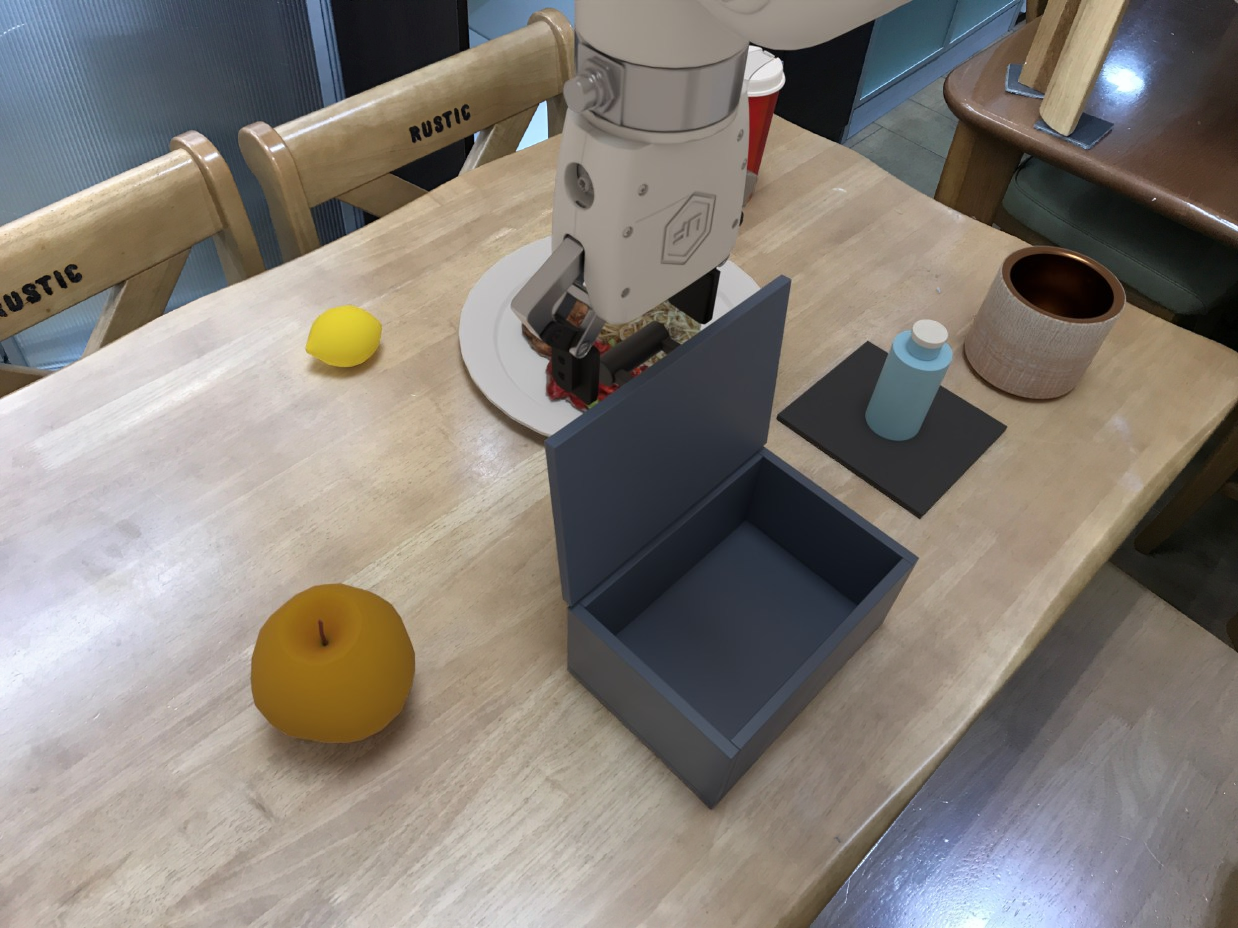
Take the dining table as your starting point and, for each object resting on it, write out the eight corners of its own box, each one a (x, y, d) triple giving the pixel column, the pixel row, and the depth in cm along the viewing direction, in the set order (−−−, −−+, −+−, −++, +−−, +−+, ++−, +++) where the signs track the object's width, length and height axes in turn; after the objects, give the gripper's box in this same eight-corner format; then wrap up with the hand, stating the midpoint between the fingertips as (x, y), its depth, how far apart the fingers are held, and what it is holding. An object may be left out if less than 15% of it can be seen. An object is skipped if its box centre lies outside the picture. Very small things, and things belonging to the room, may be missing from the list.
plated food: (742, 237, 95) (747, 210, 92) (813, 451, 76) (822, 425, 74) (459, 247, 92) (456, 220, 89) (461, 474, 73) (457, 447, 70)
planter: (1055, 421, 80) (1104, 343, 72) (943, 367, 84) (979, 287, 76) (1094, 356, 85) (1144, 278, 78) (987, 308, 89) (1025, 229, 82)
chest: (883, 621, 66) (919, 557, 59) (711, 810, 57) (731, 759, 50) (743, 514, 72) (761, 444, 65) (566, 669, 63) (566, 607, 56)
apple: (278, 790, 56) (222, 716, 47) (278, 654, 62) (228, 565, 53) (433, 757, 58) (407, 679, 49) (419, 628, 64) (393, 537, 55)
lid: (792, 279, 54) (728, 246, 56) (554, 448, 45) (490, 401, 47) (767, 443, 64) (714, 410, 67) (570, 607, 55) (518, 561, 58)
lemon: (375, 328, 84) (365, 283, 79) (397, 364, 81) (388, 319, 76) (302, 353, 81) (288, 308, 77) (322, 390, 78) (309, 346, 74)
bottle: (930, 421, 78) (972, 332, 70) (900, 449, 76) (940, 361, 68) (885, 392, 80) (921, 302, 72) (854, 419, 78) (888, 329, 70)
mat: (1005, 430, 79) (1007, 426, 78) (919, 519, 72) (922, 514, 72) (866, 344, 85) (867, 340, 85) (776, 418, 78) (777, 414, 78)
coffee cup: (726, 163, 104) (746, 34, 92) (777, 196, 100) (804, 67, 88) (673, 187, 100) (687, 57, 88) (723, 223, 96) (745, 91, 85)
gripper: (575, 180, 33) (571, 463, 47) (842, 39, 41) (774, 314, 55) (449, 100, 36) (479, 387, 50) (721, -16, 45) (685, 257, 58)
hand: (634, 349), depth 52 cm, fingers open, 9 cm apart
